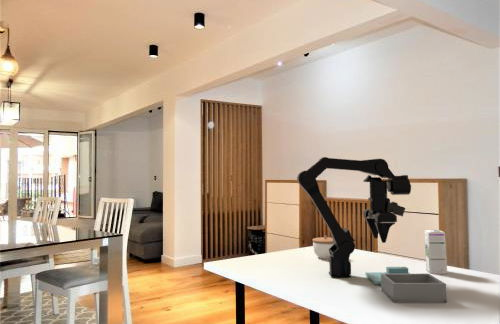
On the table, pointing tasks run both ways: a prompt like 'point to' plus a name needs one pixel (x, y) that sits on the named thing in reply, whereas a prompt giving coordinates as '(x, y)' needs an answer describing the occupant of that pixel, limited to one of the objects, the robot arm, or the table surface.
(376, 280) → the lid
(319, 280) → the table surface
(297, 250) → the table surface
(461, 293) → the table surface
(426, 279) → the tub
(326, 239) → the lidded jar
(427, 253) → the syrup box
